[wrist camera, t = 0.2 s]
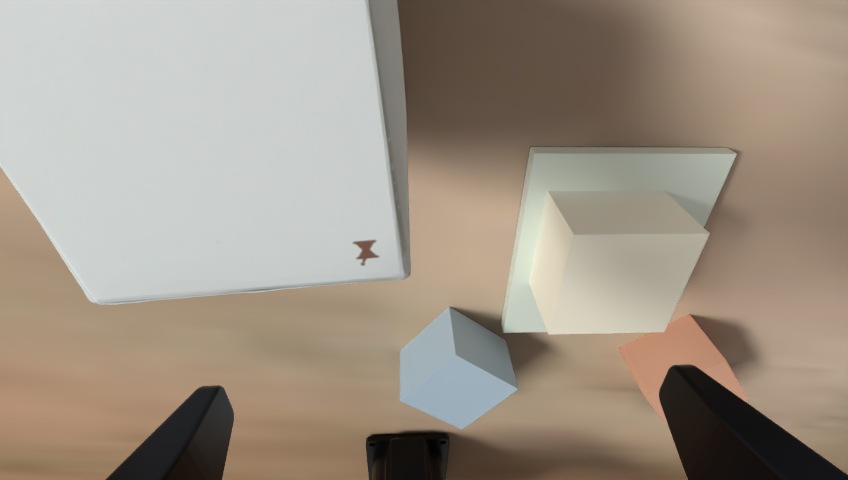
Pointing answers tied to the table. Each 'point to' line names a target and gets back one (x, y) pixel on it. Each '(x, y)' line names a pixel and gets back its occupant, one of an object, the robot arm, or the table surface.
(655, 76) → the table surface
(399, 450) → the robot arm
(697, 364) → the terracotta brick
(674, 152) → the baseplate
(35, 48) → the supplement box
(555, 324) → the base brick
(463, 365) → the blue brick
